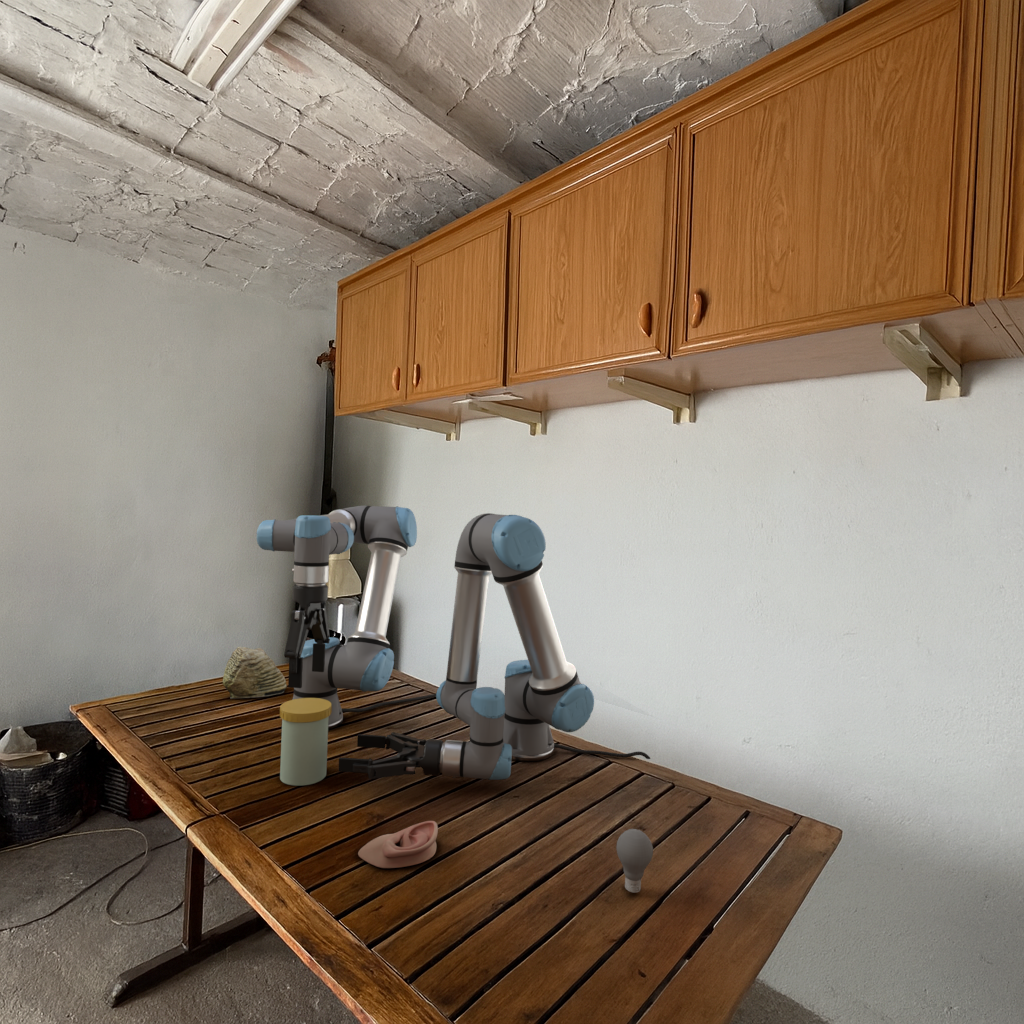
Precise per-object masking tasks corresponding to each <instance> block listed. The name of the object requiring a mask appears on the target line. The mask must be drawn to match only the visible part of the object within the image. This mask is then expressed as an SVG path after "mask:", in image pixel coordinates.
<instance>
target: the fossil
mask: <svg viewBox="0 0 1024 1024" xmlns="http://www.w3.org/2000/svg"><path fill="white" fill-rule="evenodd" d="M222 676H223V677H222V685H223V687H224V688H225V690H226V691H228V693H229V698H230V699H250V698H264V697H271V696H275V695H281V694H284V693H285V691H286V689H287V687H288V684H287V680H286V678H285V676H284V674H283V673H282V672H281V669H279V668H278V667H277V665H276V663H275V662H274V660H273V659H272V658H271V657H270V656H269V655H268V654H267V653H266V652H265V650H264V649H263V648H260V647H258V648H251V647H247V646H246V647H245V646H238V647H237V648H236V649H235V650H233V651H232V653H231V656H230V657H229V659H228V660H227V663H226V666H225V668H224V671H223V675H222Z"/></svg>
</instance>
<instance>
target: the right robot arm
mask: <svg viewBox="0 0 1024 1024" xmlns="http://www.w3.org/2000/svg"><path fill="white" fill-rule="evenodd" d="M544 534H545V533H544V532H543V530H542V528H541V527H540V526H539V525H538V524H537V522H535V521H534V520H533V519H531V518H529V517H524V516H523V515H520V514H519V515H518V514H499V513H498V514H497V513H489V512H487V513H481V514H479V515H476V516H475V517H473V518H471V519H470V520H469V521H468V522H467V523H466V524H465V526H464V528H463V530H462V532H461V534H460V537H459V540H458V543H457V546H456V551H455V552H456V553H455V560H454V566H453V568H454V569H455V571H456V572H457V577H456V578H457V579H456V586H455V595H454V596H455V597H454V605H453V614H452V621H451V631H450V638H449V639H450V640H449V649H448V658H447V667H446V675H445V680H444V681H443V682H442V683H440V684H439V687H438V688H437V689H436V690H437V691H436V693H437V694H436V693H435V694H436V697H435V698H436V702H437V704H438V705H439V707H440V708H441V709H443V710H444V712H446V713H447V714H449V715H451V716H453V717H455V718H457V719H458V720H460V721H462V722H463V723H465V724H466V725H467V726H469V741H466V740H455V739H454V740H453V739H446V740H445V741H443V739H432V738H428V739H423V738H416V737H413V736H410V735H406V734H403V733H399V732H395V731H392V732H390V734H387V735H379V734H378V735H377V734H363V733H362V734H361V733H358V734H357V740H356V741H357V743H356V746H357V748H369V749H386V750H393V751H395V752H397V754H396V755H394V756H389V757H384V758H380V759H375V760H373V759H372V758H357V757H356V758H355V757H339V758H338V772H340V773H341V772H342V773H356V774H367V775H368V779H369V780H377V779H382V778H384V779H385V778H390V777H399V776H405V775H406V776H415V775H416V773H417V772H416V770H417V768H421V769H422V773H423V775H425V776H433V777H434V776H435V777H439V776H440V775H442V776H443V777H452V779H457V778H470V779H481V780H482V779H483V780H488V781H491V780H492V781H493V780H495V781H497V780H499V781H500V780H508V778H510V776H511V772H512V760H513V761H516V762H517V761H519V762H538V761H543V760H546V759H549V758H550V757H552V756H553V755H554V753H555V748H557V749H560V750H565V751H568V752H572V753H576V754H584V755H599V756H607V757H613V758H621V759H622V758H623V759H625V758H631V757H635V756H641V757H643V758H645V759H647V760H651V757H650V755H648V754H647V753H646V752H643V751H633V752H628V753H617V752H610V751H602V750H592V749H591V750H589V749H578V748H574V747H570V746H566V745H563V744H558V743H555V741H554V737H553V734H552V730H551V727H552V728H554V729H556V730H558V731H562V732H564V733H574V732H577V731H579V730H580V729H581V728H582V727H583V728H584V726H585V725H586V724H587V722H588V721H589V719H590V718H591V716H592V715H591V714H592V713H593V712H594V708H595V707H594V706H595V696H594V693H593V691H592V689H591V688H590V687H589V686H588V685H587V684H584V683H582V682H581V681H580V678H579V674H578V672H577V668H576V666H575V665H574V664H573V663H571V662H569V661H567V657H566V655H565V651H564V648H563V645H562V642H561V639H560V635H559V633H558V629H557V626H556V623H555V620H554V616H553V614H552V611H551V607H550V604H549V600H548V597H547V595H546V592H545V589H544V586H543V583H542V579H541V576H540V573H541V571H542V569H543V567H544V564H543V563H544V562H543V559H544V557H545V554H544V552H545V551H546V547H547V546H546V543H547V542H546V537H545V535H544ZM491 575H492V578H493V580H494V582H495V583H496V584H499V585H502V586H503V589H504V592H505V595H506V598H507V601H508V604H509V607H510V610H511V613H512V616H513V619H514V622H515V625H516V628H517V630H518V634H519V637H520V640H521V643H522V646H523V649H524V652H525V655H526V657H527V659H519V660H513V661H510V662H509V663H508V664H507V665H506V667H505V673H504V692H503V690H502V689H500V688H497V687H492V686H482V687H481V686H480V687H478V686H477V685H478V678H479V677H478V675H479V669H480V667H479V666H480V660H481V659H480V658H481V650H482V642H483V641H482V640H483V632H484V626H485V625H484V623H485V616H486V609H487V608H486V607H487V606H486V605H487V599H488V598H487V597H488V589H489V580H490V576H491Z"/></svg>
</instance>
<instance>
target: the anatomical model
mask: <svg viewBox="0 0 1024 1024" xmlns="http://www.w3.org/2000/svg"><path fill="white" fill-rule="evenodd" d="M438 833H439V826H438V823H437V822H436V821H435V820H426V821H422V822H419V823H416V824H413V825H410V826H408V827H406V828H403V829H401V830H399V831H397V832H394V833H387V834H382V835H380V836H377V837H375V838H373V839H372V840H370V841H368V842H367V843H366V844H365V845H363V846H361V848H360V849H359V850H358V852H357V855H358V857H359V858H360V859H362V860H363V861H365V862H366V863H368V864H370V865H372V866H375V867H377V868H381V869H395V868H404V867H410V866H415V865H418V864H421V863H424V862H426V861H428V860H430V859H431V858H433V857H434V855H435V854H436V852H437V841H436V840H437V838H438Z"/></svg>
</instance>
